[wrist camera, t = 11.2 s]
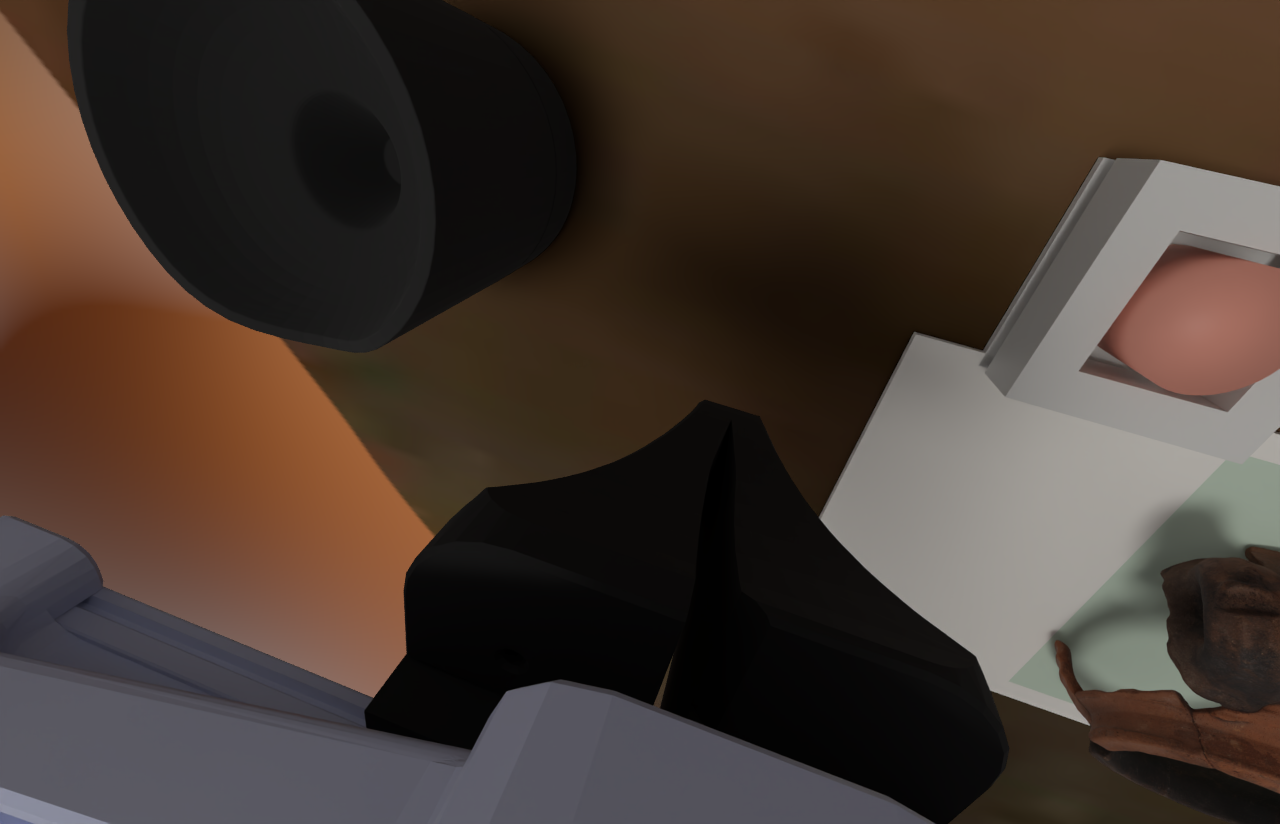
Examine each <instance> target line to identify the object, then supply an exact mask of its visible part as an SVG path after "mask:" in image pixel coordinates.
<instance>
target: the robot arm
mask: <svg viewBox="0 0 1280 824" xmlns="http://www.w3.org/2000/svg"><path fill="white" fill-rule="evenodd" d="M404 609H405V630H406V651H407V654H406V656H405V657H404V658H403V659H402V661H401V662H400V664H399V665H398V666H397V667H396V669H395V670H394V671H393V673H392V674H391V675H390V677H389V678H388V680H387V681H386V682H385V684H384V685H383V686H382V687H381V689H380V690H379V691H378V693H377V694H376V695H375V697H374V698H372V697H370V696H367V695H365V694H362V693H360V692H358V691H355V690H353V689H350V688H348V687H346V686H343V685H341V684H338V683H336V682H333V681H331V680H328V679H326V678H324V677H321V676H319V675H316V674H314V673H312V672H309V671H307V670H304V669H302V668H299V667H297V666H294V665H292V664H290V663H287V662H285V661H282V660H280V659H278V658H275V657H273V656H270V655H268V654H265V653H263V652H260V651H258V650H255V649H253V648H251V647H249V646H246V645H243V644H241V643H239V642H236V641H234V640H231V639H229V638H227V637H224V636H222V635H219V634H217V633H215V632H212V631H210V630H207V629H205V628H202V627H200V626H198V625H195V624H193V623H190V622H188V621H185V620H183V619H181V618H178V617H176V616H173V615H171V614H168V613H166V612H163V611H161V610H158V609H156V608H154V607H151V606H149V605H146V604H144V603H142V602H139V601H137V600H135V599H132V598H130V597H127V596H125V595H122V594H120V593H117V592H115V591H113V590H110V589H108V588H105V587H103V579H102V576H101V573H100V570H99V568H98V566H97V564H96V562H95V561H94V559H93V558H92V557H91V555H90V554H89V553H88V552H87V551H86V550H85V549H84V548H83V547H81V546H80V545H79V544H77V543H76V542H74V541H72V540H70V539H69V538H66V537H64V536H61V535H59V534H56V533H54V532H51V531H49V530H46V529H44V528H42V527H39V526H37V525H34V524H32V523H29V522H27V521H24V520H22V519H19V518H17V517H13V516H2V517H0V824H948V823H949V822H950V821H952V820H953V819H954V818H955V817H956V816H957V815H959V814H960V813H961V812H962V811H963V810H964V809H966V808H967V807H968V806H969V805H970V804H971V803H973V802H974V801H975V800H976V799H977V798H978V797H980V796H981V795H982V794H983V793H984V792H985V791H986V790H988V789H989V788H990V787H991V786H992V784H993V783H994V782H995V781H996V779H997V778H998V777H999V776H1000V774H1001V773H1002V772H1003V771H1004V769H1005V767H1006V762H1007V757H1008V752H1009V746H1008V742H1007V739H1006V735H1005V732H1004V728H1003V725H1002V722H1001V719H1000V717H999V714H998V711H997V708H996V705H995V703H994V700H993V697H992V694H991V691H990V689H989V686H988V684H987V681H986V679H985V676H984V674H983V671H982V669H981V667H980V664H979V662H978V660H977V658H976V656H975V655H974V654H972V653H971V652H969V651H968V650H967V649H965V648H964V647H963V646H961V645H960V644H959V643H957V642H956V641H955V640H953V639H952V638H950V637H949V636H948V635H946V634H945V633H944V632H942V631H941V630H940V629H938V628H937V627H936V626H934V625H933V624H931V623H930V622H929V621H927V620H926V619H925V618H923V617H922V616H921V615H919V614H918V613H917V612H915V611H914V610H913V609H912V608H910V607H909V606H908V605H907V604H906V603H904V602H903V601H902V600H901V599H900V598H899V597H897V596H896V595H895V594H894V593H893V592H892V591H890V590H889V589H888V588H887V587H886V586H884V585H883V584H882V583H881V582H880V581H879V580H878V579H877V578H876V577H874V576H873V575H872V574H871V573H870V572H869V571H868V570H867V569H866V568H865V567H864V566H863V565H862V564H861V563H860V562H859V561H858V560H857V559H856V558H855V557H854V556H853V555H852V554H851V553H850V552H849V551H848V550H847V549H846V548H845V547H844V546H843V545H842V544H841V543H840V542H839V541H838V540H837V539H836V537H835V536H834V535H833V534H832V533H831V532H830V531H829V530H828V528H827V527H826V526H825V525H824V523H823V522H822V521H821V520H820V518H819V517H818V516H817V515H816V514H815V512H814V511H813V510H812V509H811V507H810V506H809V504H808V503H807V502H806V500H805V499H804V498H803V496H802V495H801V493H800V492H799V490H798V488H797V487H796V485H795V484H794V482H793V481H792V479H791V478H790V476H789V474H788V473H787V471H786V469H785V467H784V466H783V464H782V462H781V460H780V458H779V456H778V454H777V452H776V450H775V448H774V446H773V444H772V442H771V440H770V438H769V436H768V433H767V431H766V429H765V427H764V425H763V422H762V420H761V418H760V416H757V415H753V414H750V413H747V412H744V411H740V410H737V409H734V408H730V407H727V406H724V405H721V404H717V403H714V402H711V401H708V400H704V401H702V402H700V403H699V404H698V405H697V406H696V407H695V409H694V410H693V411H692V412H691V413H690V414H689V415H687V416H686V417H685V418H684V419H683V420H682V421H681V422H679V423H678V424H677V425H675V426H674V427H673V428H672V429H670V430H669V431H668V432H666V433H665V434H664V435H662V436H660V437H659V438H657V439H656V440H654V441H653V442H651V443H650V444H648V445H646V446H645V447H643V448H641V449H639V450H638V451H636V452H634V453H632V454H630V455H628V456H626V457H624V458H622V459H619V460H617V461H615V462H613V463H610V464H607V465H604V466H601V467H598V468H595V469H593V470H590V471H587V472H583V473H579V474H575V475H571V476H567V477H563V478H558V479H553V480H548V481H542V482H536V483H528V484H519V485H509V486H500V487H487V488H485V489H484V490H483V491H482V492H481V493H480V494H479V495H477V496H476V497H475V498H474V499H473V500H472V501H470V502H469V503H468V504H467V505H465V506H464V507H463V508H462V509H461V510H460V511H459V512H458V513H457V514H456V515H455V516H453V517H452V518H451V519H450V520H449V521H448V522H447V524H446V525H445V526H444V527H443V528H442V529H441V530H440V531H439V532H438V534H437V535H436V536H435V537H434V538H433V539H432V540H431V541H430V542H429V544H428V545H427V546H426V547H425V548H424V549H423V550H422V551H421V552H420V554H419V555H418V556H417V557H416V558H415V560H414V562H413V563H412V564H411V566H410V568H409V569H408V571H407V572H406V578H405V585H404ZM673 653H674V655H673ZM672 656H673V659H672V663H671V667H670V671H669V675H668V679H667V683H666V687H665V690H664V694H663V698H662V702H661V706H660V708H658V707H655V706H653V705H654V702H655V700H656V697H657V694H658V692H659V689H660V687H661V684H662V682H663V679H664V676H665V674H666V671H667V669H668V666H669V664H670V661H671V658H672Z"/></svg>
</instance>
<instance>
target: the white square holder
mask: <svg viewBox="0 0 1280 824" xmlns="http://www.w3.org/2000/svg"><path fill="white" fill-rule="evenodd" d="M1172 244H1176V245H1187V246H1193V247H1197V248H1201V249H1205V250H1209V251H1213V252H1216V253H1220V254H1224V255H1228V256H1232V257H1236V258H1240V259H1244V260H1248V261H1252V262H1256V263H1260V264H1264V265H1268V266H1272V267H1276V268H1280V186H1275V185H1271V184H1266V183H1262V182H1257V181H1253V180H1248V179H1244V178H1239V177H1235V176H1230V175H1226V174H1221V173H1217V172H1212V171H1208V170H1203V169H1199V168H1194V167H1190V166H1185V165H1181V164H1177V163H1172V162H1168V161H1163V160H1150V159H1126V158H1117V159H1116V160H1113V159H1108V158H1103V157H1098V159H1097V161H1096V162H1095V164H1094V166H1093V168H1092V169H1091V171H1090V173H1089V174H1088V176H1087V178H1086V179H1085V181H1084V183H1083V184H1082V186H1081V188H1080V189H1079V191H1078V193H1077V194H1076V196H1075V198H1074V199H1073V201H1072V203H1071V204H1070V206H1069V208H1068V209H1067V211H1066V213H1065V214H1064V216H1063V218H1062V219H1061V221H1060V223H1059V224H1058V226H1057V228H1056V229H1055V231H1054V233H1053V234H1052V236H1051V238H1050V239H1049V241H1048V243H1047V244H1046V246H1045V248H1044V249H1043V251H1042V253H1041V254H1040V256H1039V258H1038V259H1037V261H1036V263H1035V264H1034V266H1033V268H1032V269H1031V271H1030V273H1029V274H1028V276H1027V278H1026V279H1025V281H1024V283H1023V284H1022V286H1021V288H1020V289H1019V291H1018V293H1017V294H1016V296H1015V298H1014V299H1013V301H1012V303H1011V304H1010V306H1009V308H1008V310H1007V311H1006V313H1005V315H1004V316H1003V318H1002V320H1001V321H1000V323H999V325H998V326H997V328H996V330H995V331H994V333H993V335H992V336H991V338H990V340H989V341H988V343H987V345H986V346H985V348H984V350H983V351H984V352H985V353H986V354H985V355H984V356H986V357H983V360H981V362H980V364H979V366H981V367H987V370H986V371H985V374H986V375H987V377H988V378H989V379H990V380H991V381H992V382H993V384H994V385H995V386H996V387H997V388H998V389H999V391H1000V392H1001V393H1002V394H1003V395H1004V396H1005V397H1007V398H1010V399H1014V400H1017V401H1021V402H1024V403H1028V404H1031V405H1035V406H1038V407H1042V408H1045V409H1049V410H1052V411H1056V412H1059V413H1063V414H1066V415H1070V416H1073V417H1077V418H1080V419H1084V420H1087V421H1091V422H1094V423H1098V424H1101V425H1105V426H1108V427H1112V428H1116V429H1119V430H1123V431H1126V432H1130V433H1133V434H1137V435H1140V436H1144V437H1147V438H1151V439H1154V440H1158V441H1161V442H1165V443H1168V444H1172V445H1175V446H1179V447H1182V448H1186V449H1189V450H1193V451H1196V452H1200V453H1203V454H1207V455H1210V456H1214V457H1217V458H1221V459H1224V460H1228V461H1231V462H1235V463H1238V464H1243V463H1244V462H1245V461H1246V460H1247V459H1248V458H1249V457H1250V456H1251V455H1252V454H1253V453H1254V452H1255V451H1256V450H1257V449H1258V448H1259V447H1260V446H1261V445H1262V444H1263V443H1264V442H1265V441H1266V440H1267V439H1268V438H1269V437H1270V436H1271V435H1272V434H1273V433H1274V432H1275V431H1276V430H1277V429H1278V428H1279V427H1280V369H1279V370H1277V371H1276V372H1274V373H1273V374H1271V375H1269V376H1268V377H1266V378H1264V379H1262V380H1260V381H1258V382H1256V383H1253V384H1251V385H1249V386H1246V387H1243V388H1240V389H1237V390H1234V391H1230V392H1226V393H1220V394H1215V395H1184V394H1179V393H1174V392H1171V391H1168V390H1166V389H1164V388H1162V387H1160V386H1158V385H1156V384H1155V383H1153V382H1152V381H1150V380H1149V379H1147V378H1145V377H1144V376H1142V375H1141V374H1139V373H1138V372H1136V371H1135V370H1133V369H1132V368H1130V367H1129V366H1127V365H1126V364H1124V363H1123V362H1121V361H1119V360H1118V359H1116V358H1115V357H1113V356H1112V355H1110V354H1109V353H1107V352H1106V351H1104V350H1103V349H1101V348H1100V347H1098V346H1097V345H1098V343H1099V342H1100V340H1101V339H1102V338H1103V336H1104V335H1105V333H1106V332H1107V331H1108V329H1109V328H1110V327H1111V325H1112V324H1113V322H1114V321H1115V320H1116V318H1117V317H1118V315H1119V314H1120V313H1121V311H1122V310H1123V308H1124V307H1125V306H1126V304H1127V303H1128V302H1129V300H1130V299H1131V297H1132V296H1133V295H1134V293H1135V292H1136V290H1137V289H1138V288H1139V286H1140V285H1141V283H1142V282H1143V281H1144V279H1145V278H1146V276H1147V275H1148V274H1149V272H1150V271H1151V270H1152V268H1153V267H1154V265H1155V264H1156V263H1157V261H1158V260H1159V258H1160V257H1161V256H1162V254H1163V253H1164V251H1165V250H1166V249H1167V247H1168V246H1169V245H1172ZM989 355H990V356H991V357H989ZM987 356H988V357H989V358H987ZM993 357H994V358H993ZM985 358H986V359H985ZM986 360H988V361H987V362H986ZM989 360H990V362H989ZM991 360H992V362H991ZM983 362H984V363H983ZM982 363H983V364H982ZM986 364H987V365H988V366H987V365H986ZM989 364H990V365H989ZM984 365H985V366H984Z"/></svg>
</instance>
